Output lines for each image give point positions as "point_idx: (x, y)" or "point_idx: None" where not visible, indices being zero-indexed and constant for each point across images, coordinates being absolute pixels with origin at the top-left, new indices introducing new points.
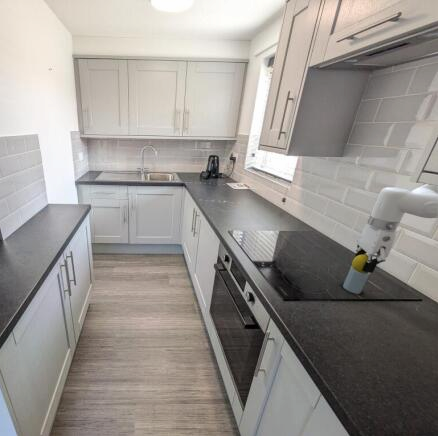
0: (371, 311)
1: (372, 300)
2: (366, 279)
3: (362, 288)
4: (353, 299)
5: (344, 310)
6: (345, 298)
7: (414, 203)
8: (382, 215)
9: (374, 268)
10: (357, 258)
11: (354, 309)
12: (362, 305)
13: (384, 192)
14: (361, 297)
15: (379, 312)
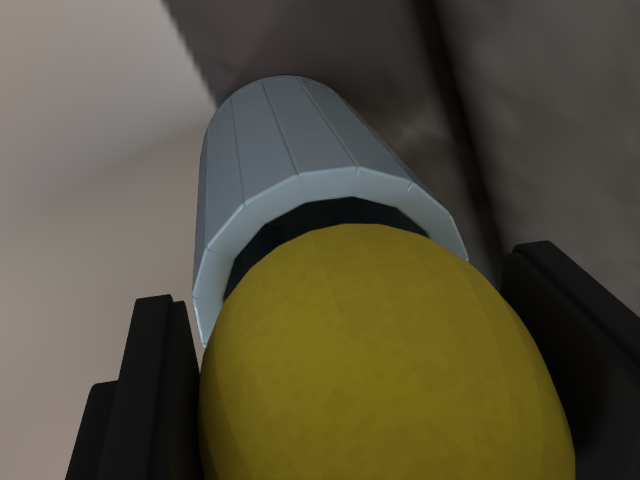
0: (617, 105)
1: (437, 12)
2: (414, 174)
3: (364, 119)
4: (475, 199)
5: (634, 304)
6: (479, 260)
7: None
8: None
9: (605, 295)
10: None
11: (612, 234)
12: (547, 151)
13: None
14: (417, 112)
15: (621, 34)
